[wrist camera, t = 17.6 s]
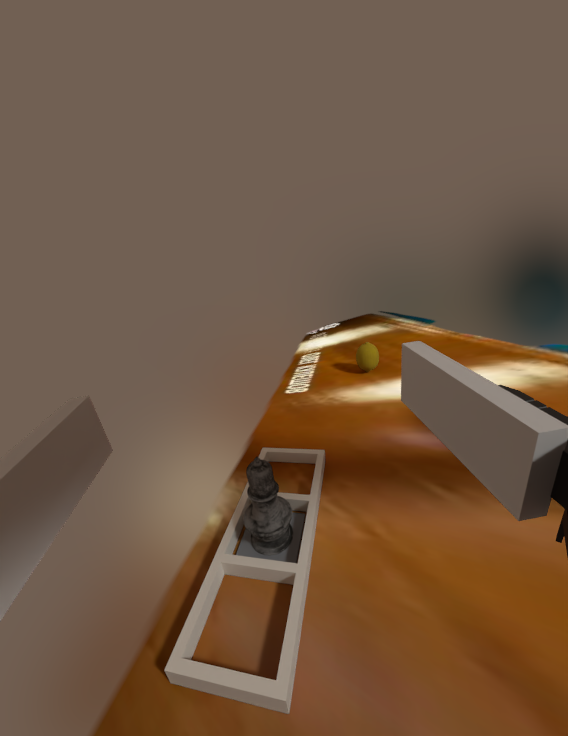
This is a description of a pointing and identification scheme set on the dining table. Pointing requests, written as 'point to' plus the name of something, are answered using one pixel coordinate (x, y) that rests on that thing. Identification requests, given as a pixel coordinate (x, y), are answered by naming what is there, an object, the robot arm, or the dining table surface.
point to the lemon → (367, 357)
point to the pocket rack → (261, 568)
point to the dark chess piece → (267, 511)
